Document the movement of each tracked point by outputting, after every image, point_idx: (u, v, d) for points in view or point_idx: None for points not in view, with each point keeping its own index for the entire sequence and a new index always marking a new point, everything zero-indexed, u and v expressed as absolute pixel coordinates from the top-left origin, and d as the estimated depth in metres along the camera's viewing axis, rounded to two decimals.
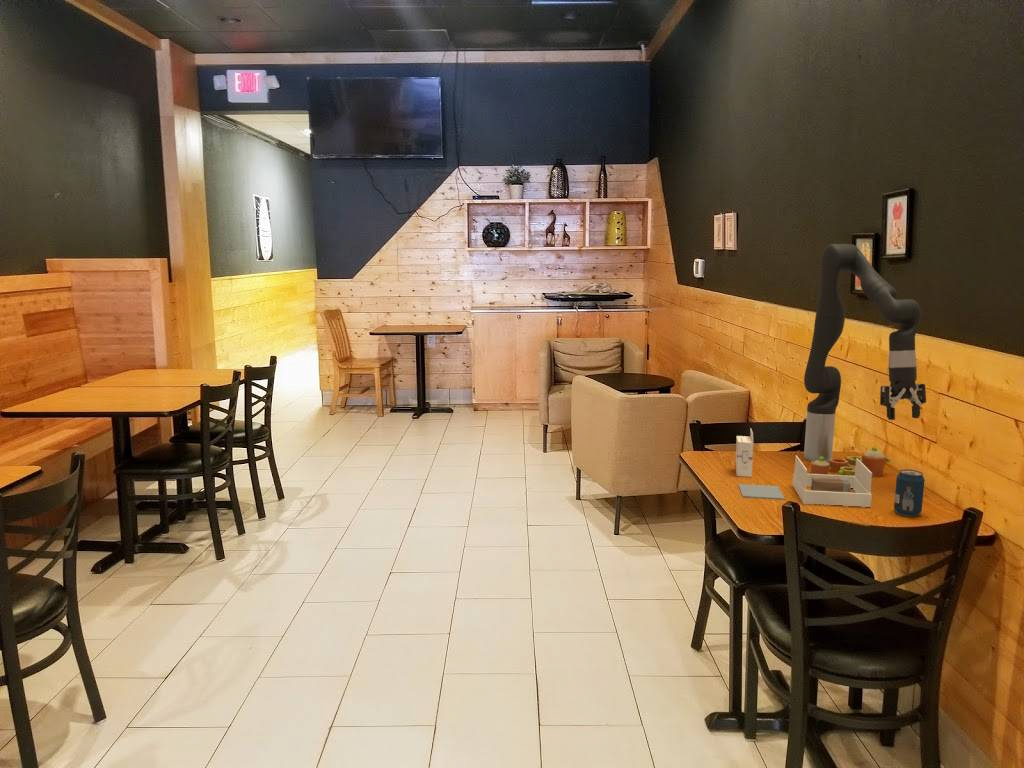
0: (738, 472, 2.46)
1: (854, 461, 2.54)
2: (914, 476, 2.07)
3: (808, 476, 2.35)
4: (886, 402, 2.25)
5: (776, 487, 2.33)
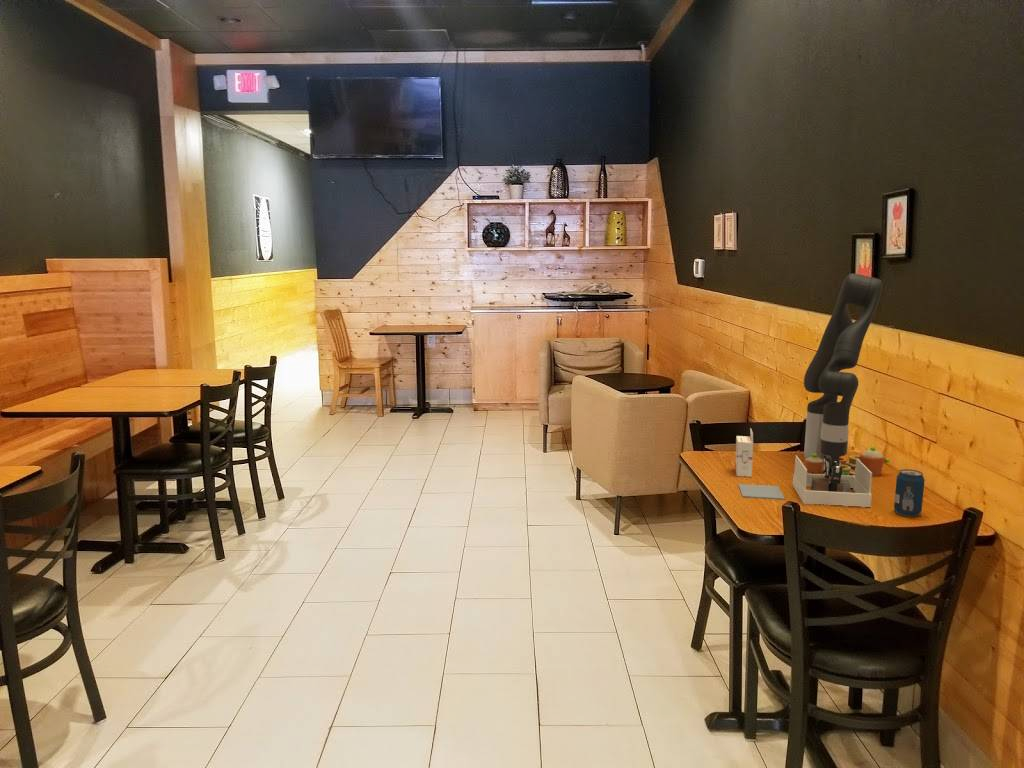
0: (738, 472, 2.46)
1: (855, 460, 2.55)
2: (914, 476, 2.07)
3: (808, 476, 2.35)
4: (823, 470, 2.31)
5: (776, 487, 2.33)
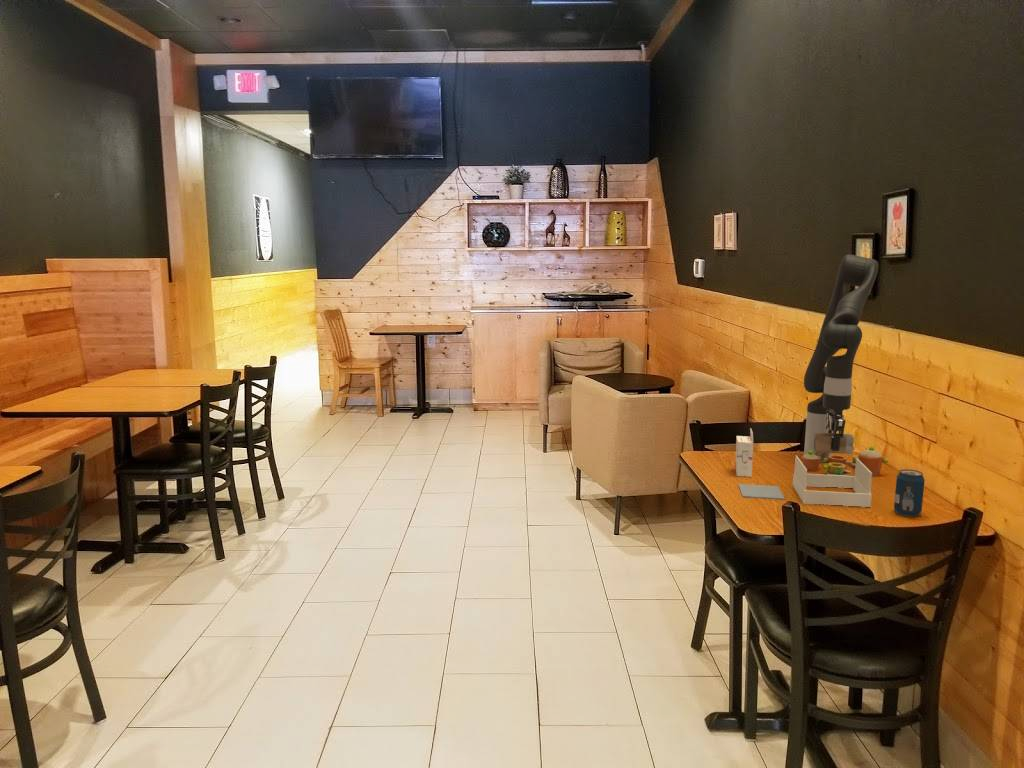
0: (738, 472, 2.46)
1: None
2: (914, 476, 2.07)
3: (808, 476, 2.35)
4: (826, 426, 2.28)
5: (776, 487, 2.33)
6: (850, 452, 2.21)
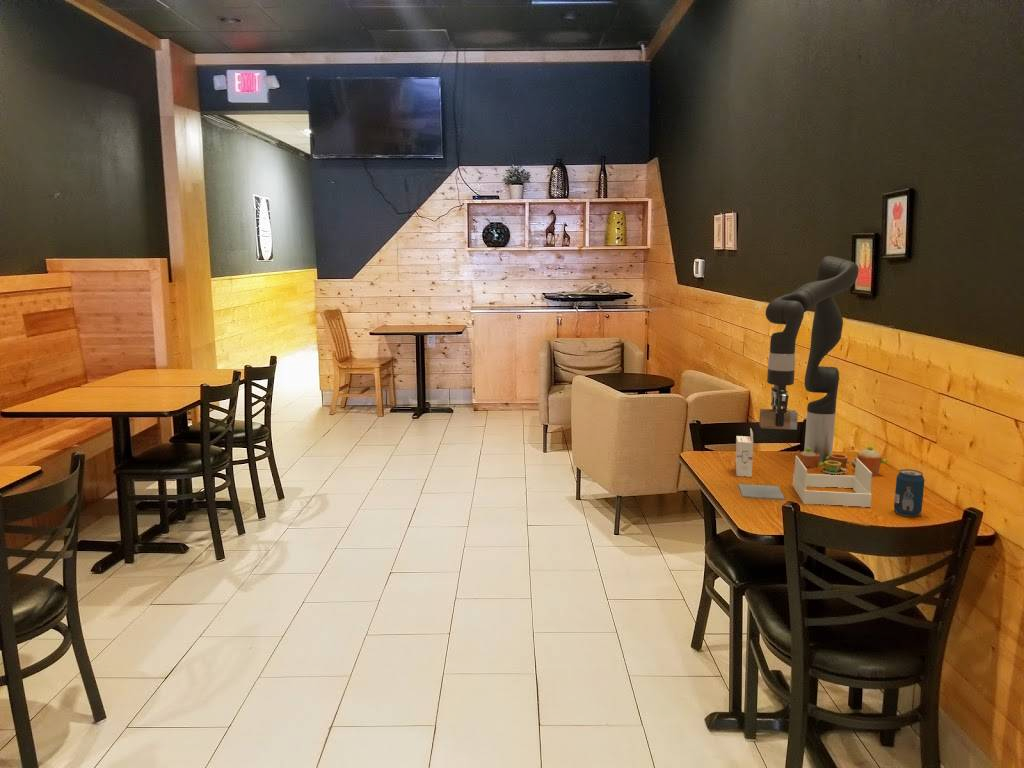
0: (738, 472, 2.46)
1: None
2: (914, 476, 2.07)
3: (808, 476, 2.35)
4: (771, 403, 2.29)
5: (776, 487, 2.33)
6: (794, 427, 2.22)
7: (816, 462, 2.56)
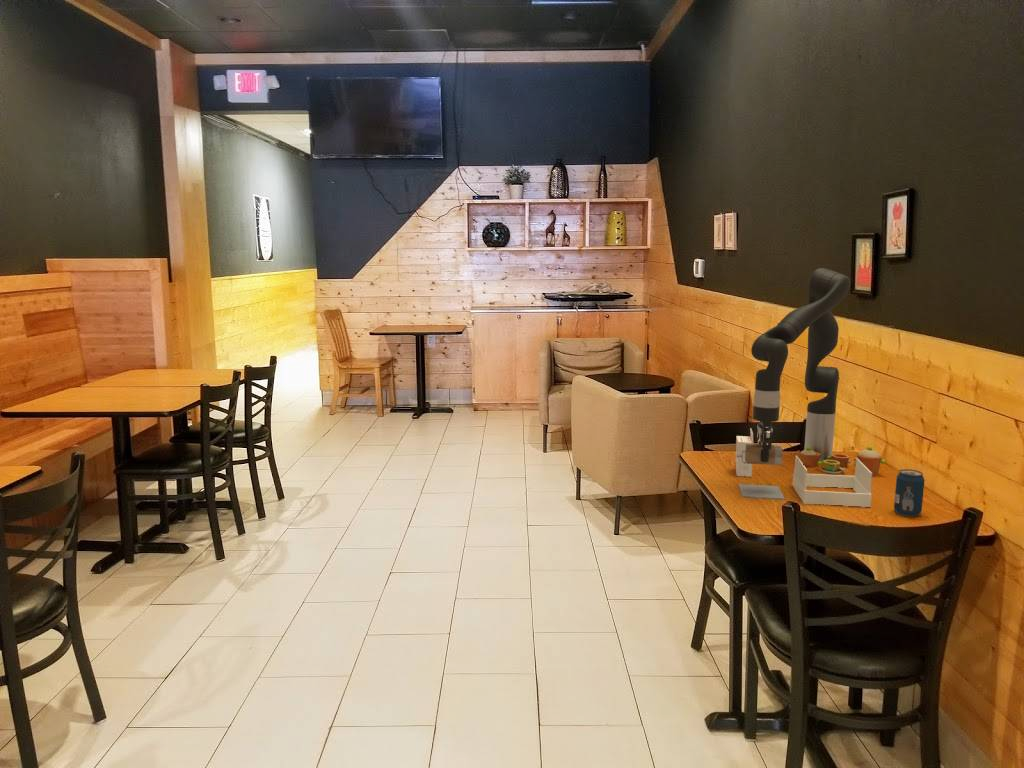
0: (738, 472, 2.46)
1: None
2: (914, 476, 2.07)
3: (808, 476, 2.35)
4: (757, 437, 2.32)
5: (776, 487, 2.33)
6: (779, 463, 2.25)
7: (816, 461, 2.57)
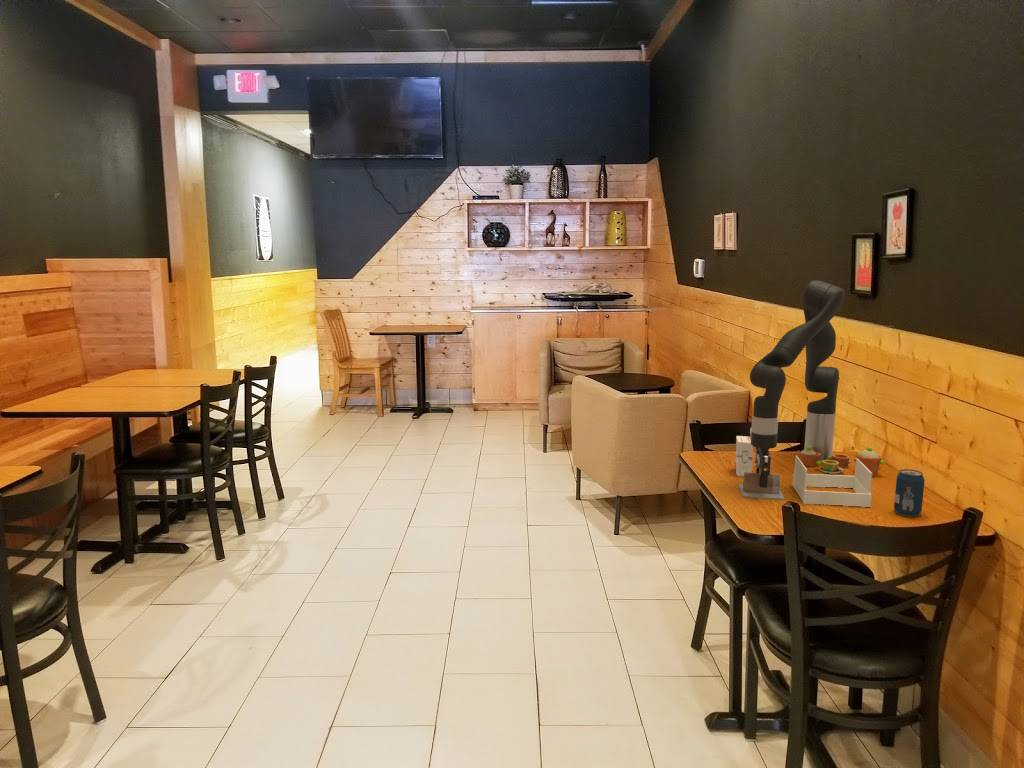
0: (738, 472, 2.46)
1: None
2: (914, 476, 2.07)
3: (808, 476, 2.35)
4: None
5: None
6: (777, 492, 2.27)
7: (816, 461, 2.57)
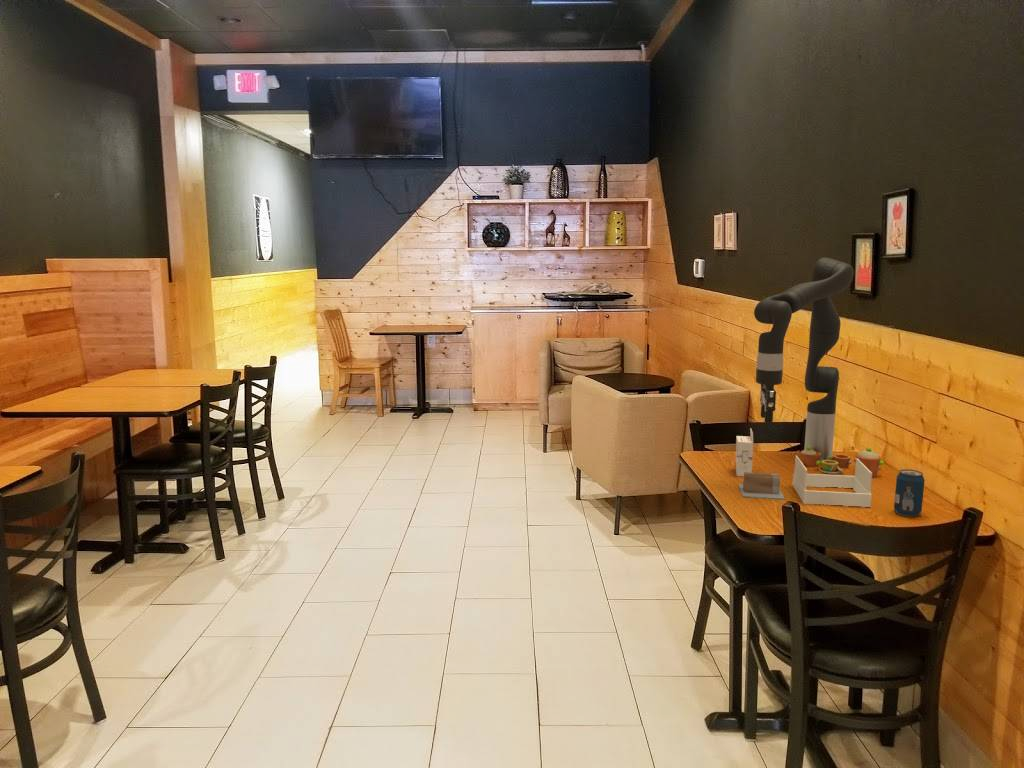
0: (738, 472, 2.46)
1: None
2: (914, 476, 2.07)
3: (808, 476, 2.35)
4: None
5: None
6: (777, 492, 2.27)
7: (816, 461, 2.57)
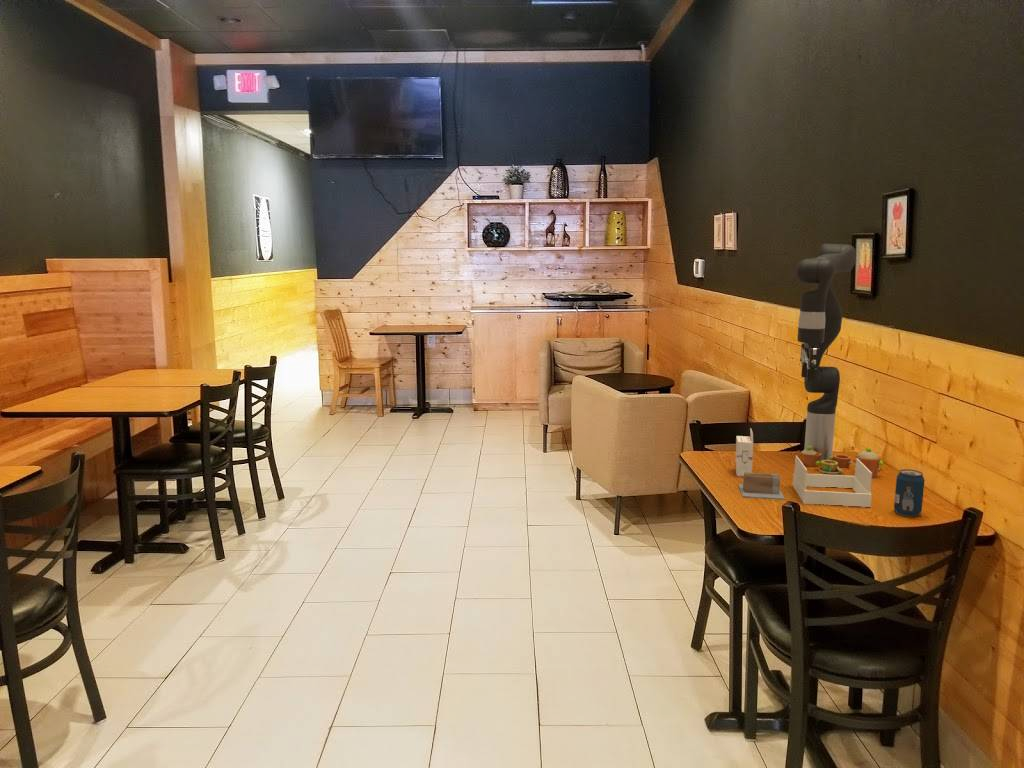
0: (738, 472, 2.46)
1: None
2: (914, 476, 2.07)
3: (808, 476, 2.35)
4: (800, 358, 2.35)
5: None
6: (777, 492, 2.27)
7: (816, 461, 2.57)
